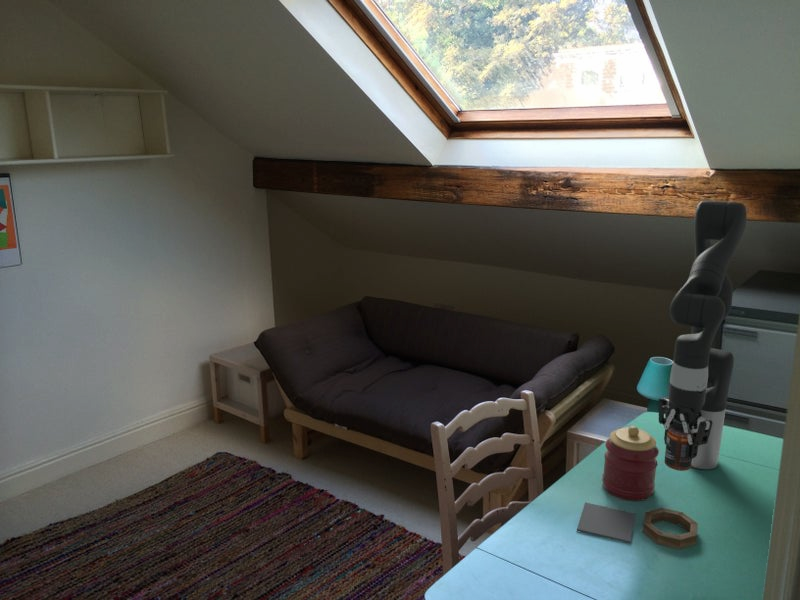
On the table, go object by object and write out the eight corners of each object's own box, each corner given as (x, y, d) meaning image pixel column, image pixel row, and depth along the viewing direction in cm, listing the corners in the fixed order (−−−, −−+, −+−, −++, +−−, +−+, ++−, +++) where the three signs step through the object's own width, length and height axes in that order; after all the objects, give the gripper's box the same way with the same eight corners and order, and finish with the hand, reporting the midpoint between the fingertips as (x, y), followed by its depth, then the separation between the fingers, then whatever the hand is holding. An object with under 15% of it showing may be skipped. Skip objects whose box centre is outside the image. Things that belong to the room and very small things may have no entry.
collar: (645, 513, 169) (646, 504, 169) (696, 524, 165) (697, 515, 164) (641, 540, 159) (642, 531, 158) (695, 553, 155) (697, 543, 154)
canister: (664, 498, 175) (671, 436, 170) (617, 505, 173) (623, 441, 168) (637, 472, 188) (643, 413, 183) (592, 477, 185) (598, 417, 180)
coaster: (584, 504, 173) (585, 502, 173) (635, 515, 168) (635, 513, 168) (576, 531, 162) (576, 528, 162) (630, 543, 158) (630, 541, 158)
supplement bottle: (697, 467, 156) (703, 421, 153) (681, 474, 153) (687, 428, 150) (674, 456, 161) (680, 411, 158) (658, 463, 158) (663, 418, 155)
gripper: (651, 372, 156) (644, 439, 161) (699, 398, 143) (690, 469, 148) (677, 368, 159) (669, 434, 164) (727, 392, 146) (717, 463, 151)
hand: (679, 450), depth 156 cm, fingers closed on supplement bottle, 6 cm apart
